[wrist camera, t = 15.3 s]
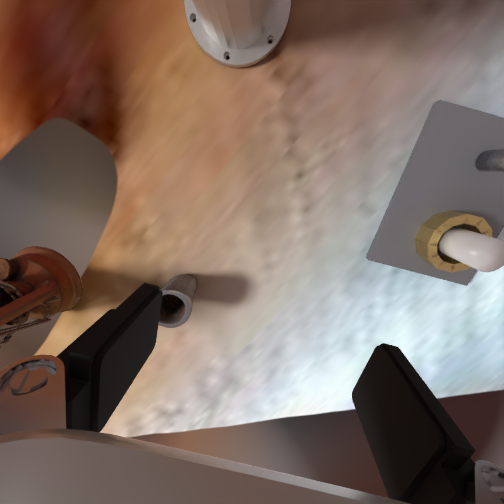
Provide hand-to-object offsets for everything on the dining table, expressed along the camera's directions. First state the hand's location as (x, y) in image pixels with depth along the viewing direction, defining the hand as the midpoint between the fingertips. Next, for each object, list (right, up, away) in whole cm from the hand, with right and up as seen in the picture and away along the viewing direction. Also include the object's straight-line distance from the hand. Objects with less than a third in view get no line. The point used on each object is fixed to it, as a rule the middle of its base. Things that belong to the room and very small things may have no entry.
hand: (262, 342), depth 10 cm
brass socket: (+28, +6, +25) cm, 38 cm away
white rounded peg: (+28, +6, +25) cm, 38 cm away
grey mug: (-14, -3, +32) cm, 35 cm away
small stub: (+30, +16, +21) cm, 40 cm away
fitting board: (+28, +11, +24) cm, 39 cm away
